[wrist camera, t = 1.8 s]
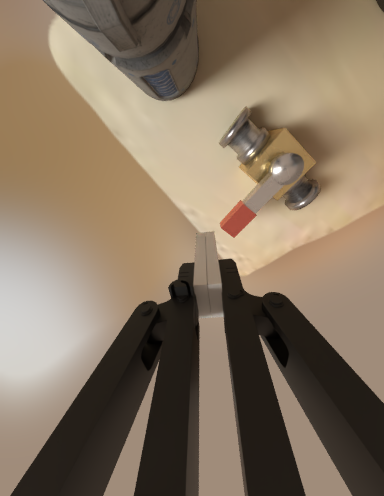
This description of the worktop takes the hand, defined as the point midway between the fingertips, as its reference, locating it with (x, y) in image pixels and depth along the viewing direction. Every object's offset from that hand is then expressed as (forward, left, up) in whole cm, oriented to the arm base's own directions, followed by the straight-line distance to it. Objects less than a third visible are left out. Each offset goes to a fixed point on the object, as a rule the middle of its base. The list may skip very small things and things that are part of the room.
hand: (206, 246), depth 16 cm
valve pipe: (-11, +6, -22) cm, 25 cm away
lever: (-6, +6, -15) cm, 17 cm away
